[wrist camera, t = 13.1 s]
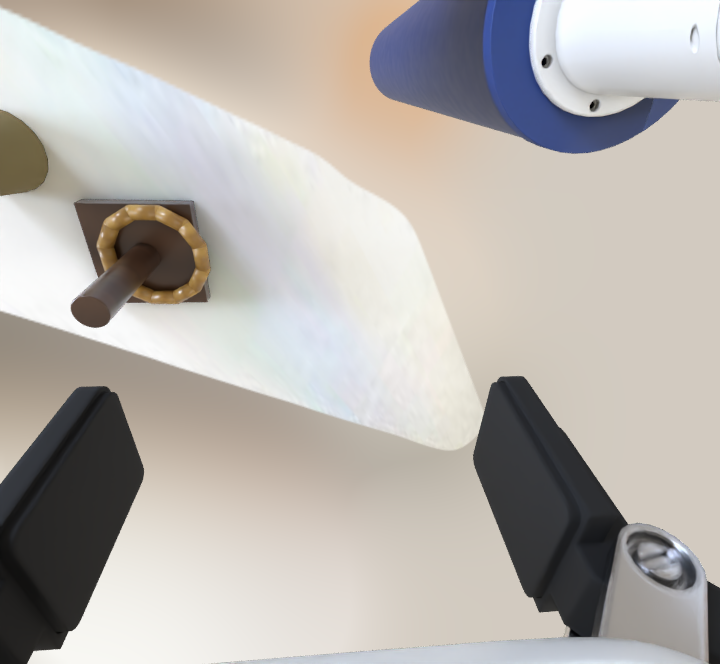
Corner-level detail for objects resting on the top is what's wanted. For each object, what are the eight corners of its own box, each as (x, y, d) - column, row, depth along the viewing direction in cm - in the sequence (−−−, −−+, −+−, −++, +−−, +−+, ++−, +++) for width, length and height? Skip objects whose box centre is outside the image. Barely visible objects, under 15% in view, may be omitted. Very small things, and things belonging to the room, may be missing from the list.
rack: (80, 199, 34) (-14, 246, 24) (193, 200, 34) (145, 247, 25) (111, 297, 38) (43, 368, 29) (210, 296, 39) (175, 366, 30)
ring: (88, 202, 33) (80, 206, 32) (201, 203, 33) (197, 207, 32) (118, 300, 37) (112, 306, 36) (217, 299, 38) (214, 305, 37)
